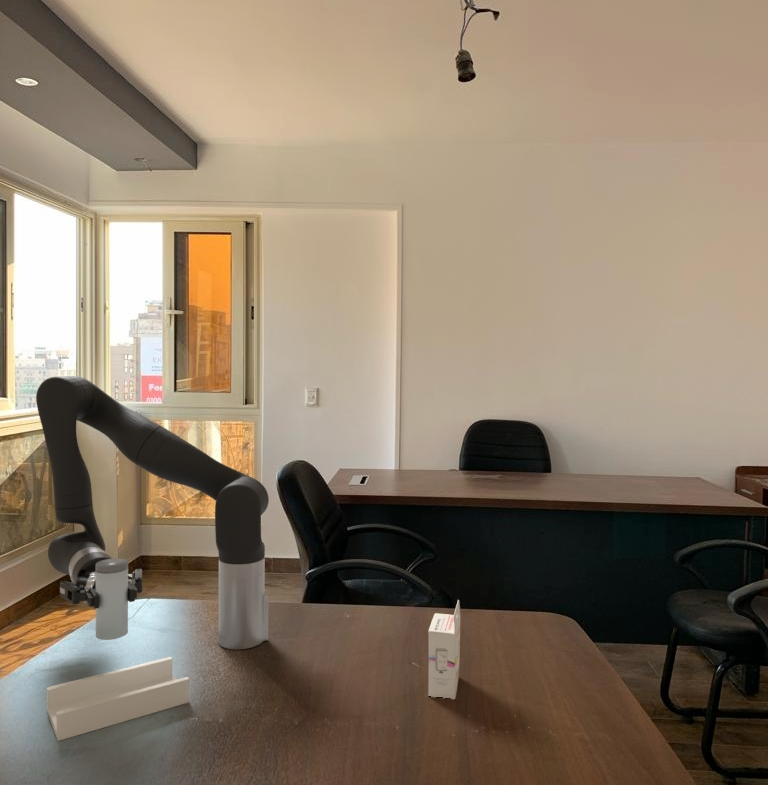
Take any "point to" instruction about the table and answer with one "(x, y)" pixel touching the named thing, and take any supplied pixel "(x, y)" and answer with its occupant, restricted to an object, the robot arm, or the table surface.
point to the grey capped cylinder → (112, 599)
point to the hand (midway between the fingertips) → (115, 599)
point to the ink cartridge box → (444, 654)
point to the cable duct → (114, 697)
